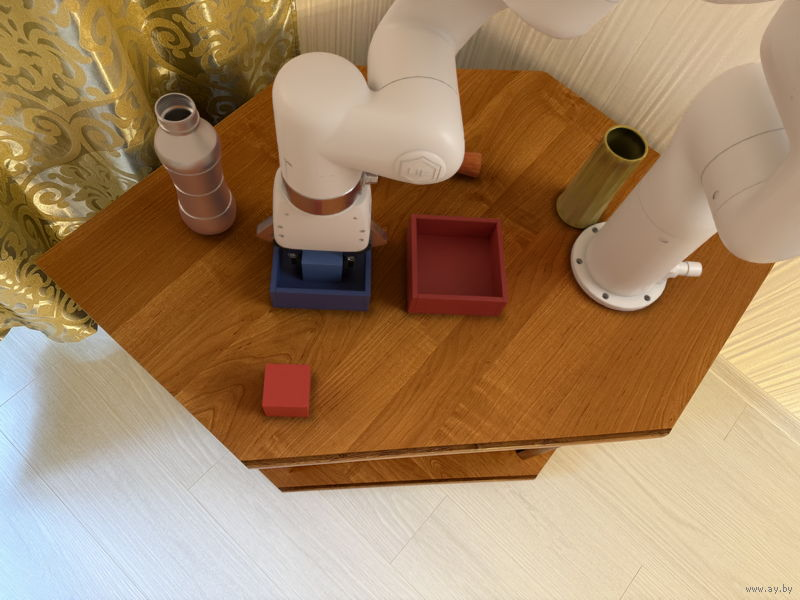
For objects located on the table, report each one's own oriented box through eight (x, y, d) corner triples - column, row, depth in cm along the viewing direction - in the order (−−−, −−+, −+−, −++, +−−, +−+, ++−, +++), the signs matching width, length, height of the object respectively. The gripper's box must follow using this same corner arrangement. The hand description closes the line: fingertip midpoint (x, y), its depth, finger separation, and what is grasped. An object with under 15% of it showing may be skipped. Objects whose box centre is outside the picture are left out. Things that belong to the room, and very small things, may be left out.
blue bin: (369, 230, 76) (371, 211, 72) (367, 311, 71) (370, 296, 67) (280, 225, 75) (277, 205, 71) (273, 307, 70) (269, 291, 66)
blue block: (342, 248, 74) (343, 230, 69) (341, 282, 72) (342, 265, 68) (305, 247, 73) (303, 228, 69) (302, 280, 71) (301, 263, 67)
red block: (311, 376, 67) (309, 364, 63) (308, 417, 65) (307, 407, 61) (269, 375, 67) (265, 363, 63) (266, 416, 65) (262, 406, 61)
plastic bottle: (199, 189, 75) (158, 71, 57) (248, 207, 75) (223, 95, 57) (174, 230, 73) (123, 120, 54) (225, 249, 72) (191, 145, 54)
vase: (596, 234, 79) (650, 170, 66) (552, 222, 79) (598, 156, 66) (601, 198, 82) (653, 129, 69) (558, 186, 82) (603, 115, 69)
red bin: (492, 236, 77) (501, 218, 73) (498, 316, 73) (508, 301, 69) (406, 232, 76) (411, 213, 72) (407, 312, 72) (412, 297, 68)
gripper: (411, 150, 58) (392, 241, 75) (234, 137, 56) (255, 234, 73) (412, 215, 55) (392, 295, 72) (225, 205, 53) (249, 289, 70)
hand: (323, 263), depth 72 cm, fingers closed on blue block, 4 cm apart
